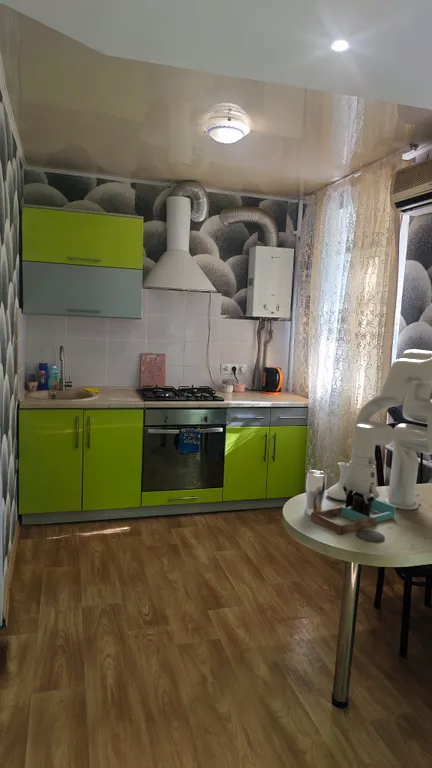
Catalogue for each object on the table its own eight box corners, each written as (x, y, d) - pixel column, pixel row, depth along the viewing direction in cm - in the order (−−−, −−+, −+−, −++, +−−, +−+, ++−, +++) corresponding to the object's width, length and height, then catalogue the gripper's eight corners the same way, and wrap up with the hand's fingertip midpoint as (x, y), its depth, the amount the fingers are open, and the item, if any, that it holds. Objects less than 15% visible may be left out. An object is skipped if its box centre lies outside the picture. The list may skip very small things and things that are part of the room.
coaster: (367, 529, 174) (367, 527, 173) (390, 539, 166) (390, 537, 166) (349, 534, 168) (349, 532, 168) (372, 544, 161) (372, 542, 161)
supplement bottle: (345, 517, 184) (348, 484, 182) (358, 514, 187) (362, 482, 186) (360, 523, 178) (364, 490, 177) (374, 520, 182) (377, 487, 180)
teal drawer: (369, 507, 194) (371, 497, 194) (394, 517, 186) (395, 506, 185) (340, 515, 184) (341, 503, 184) (364, 525, 176) (365, 513, 175)
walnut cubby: (345, 512, 188) (346, 504, 188) (375, 525, 177) (376, 517, 177) (310, 521, 177) (311, 512, 177) (340, 535, 167) (341, 526, 167)
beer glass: (323, 518, 181) (327, 476, 179) (303, 516, 182) (307, 474, 180) (322, 511, 187) (326, 471, 186) (303, 509, 189) (307, 469, 187)
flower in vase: (325, 500, 200) (331, 437, 197) (326, 491, 211) (332, 431, 208) (360, 505, 197) (367, 441, 194) (359, 496, 208) (365, 435, 205)
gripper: (390, 465, 174) (384, 516, 176) (349, 453, 188) (344, 500, 190) (376, 467, 170) (370, 520, 172) (335, 455, 184) (331, 503, 186)
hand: (357, 509), depth 181 cm, fingers closed on supplement bottle, 6 cm apart
